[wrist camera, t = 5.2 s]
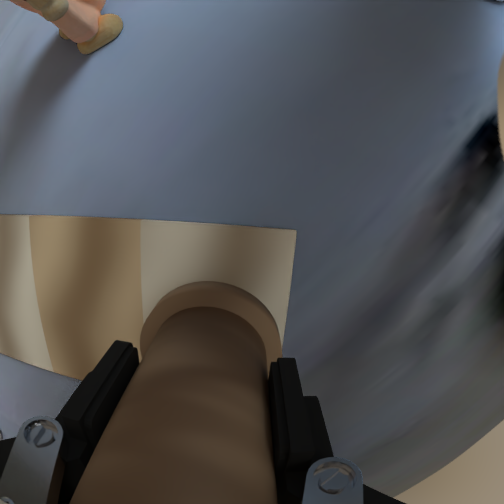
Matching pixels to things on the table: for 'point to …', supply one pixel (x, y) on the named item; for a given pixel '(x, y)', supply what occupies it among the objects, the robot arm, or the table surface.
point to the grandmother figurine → (78, 21)
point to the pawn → (193, 407)
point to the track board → (120, 279)
